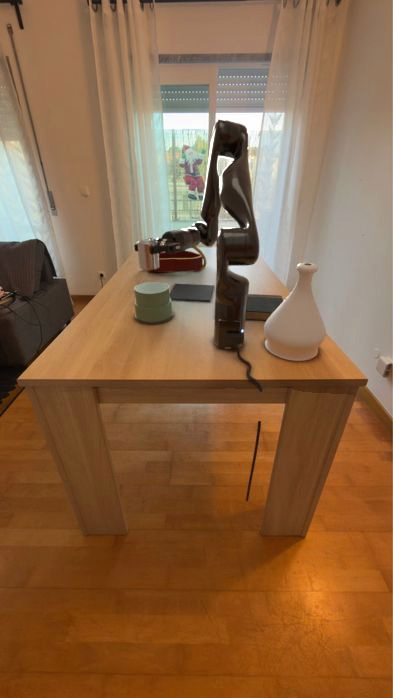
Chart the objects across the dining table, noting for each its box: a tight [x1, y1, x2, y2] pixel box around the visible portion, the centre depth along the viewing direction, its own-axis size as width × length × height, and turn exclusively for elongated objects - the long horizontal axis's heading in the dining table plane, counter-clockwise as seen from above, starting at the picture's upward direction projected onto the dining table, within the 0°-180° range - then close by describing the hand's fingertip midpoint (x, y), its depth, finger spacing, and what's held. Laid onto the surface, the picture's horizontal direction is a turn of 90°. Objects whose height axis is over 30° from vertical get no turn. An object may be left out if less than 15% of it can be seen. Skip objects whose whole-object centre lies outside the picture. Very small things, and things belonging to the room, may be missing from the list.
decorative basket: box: [145, 246, 207, 273], centre depth 149 cm, size 34×29×15 cm
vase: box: [263, 262, 327, 362], centre depth 80 cm, size 17×17×25 cm
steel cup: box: [136, 239, 160, 271], centre depth 92 cm, size 7×7×8 cm
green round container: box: [133, 281, 174, 325], centre depth 101 cm, size 14×14×11 cm
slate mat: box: [169, 283, 215, 303], centre depth 124 cm, size 18×18×1 cm
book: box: [246, 293, 284, 322], centre depth 108 cm, size 17×4×25 cm
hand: (142, 249), depth 90 cm, fingers closed on steel cup, 6 cm apart
